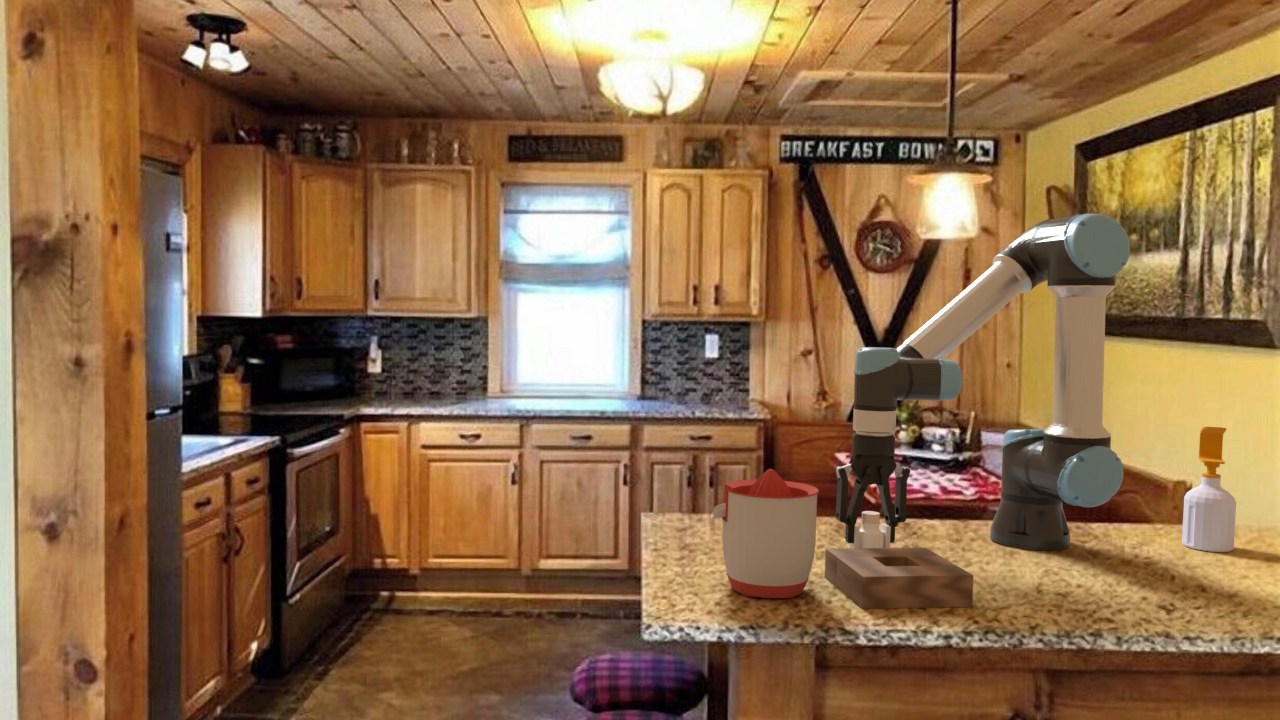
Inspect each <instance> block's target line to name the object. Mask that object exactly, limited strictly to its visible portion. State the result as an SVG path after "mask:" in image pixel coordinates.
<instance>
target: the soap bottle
mask: <svg viewBox="0 0 1280 720" xmlns="http://www.w3.org/2000/svg"><path fill="white" fill-rule="evenodd" d="M1225 432H1227V428H1226V427H1220V426H1203V427H1202V428H1201V429H1200V432H1199V445H1198V446H1199V447H1198V460H1199V461H1200V462H1201V463H1203V466H1204V467H1206V472H1203V473H1201V482H1200V484H1199V485H1198V486H1196V487H1193V488H1191V489H1190V490H1188V491H1186V493H1185V495H1184V497H1183V515H1182V530H1181V531H1182V535H1181V543H1182V545H1183V546H1185V547H1186V548H1188V549H1191V550H1192V549H1193V550H1195V549H1196V551H1201V550H1202V552H1207V551H1208V552H1209V553H1228V552H1229V553H1230V552H1232V551H1233V550H1234V548H1235V547H1234V546H1235V532H1236V531H1235V530H1236V512H1237V500H1236V498H1235V497H1234V496H1233V495H1232V494H1231V493H1230V492H1229V491H1228V490H1226V489H1224V488H1223V487H1222V485H1221V480H1222V479H1221V476H1222V475H1221V474H1219V473H1217V468H1220V465H1225V464H1226V462H1225V460H1223V441H1224V440H1223V439H1224V434H1225Z"/></svg>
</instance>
